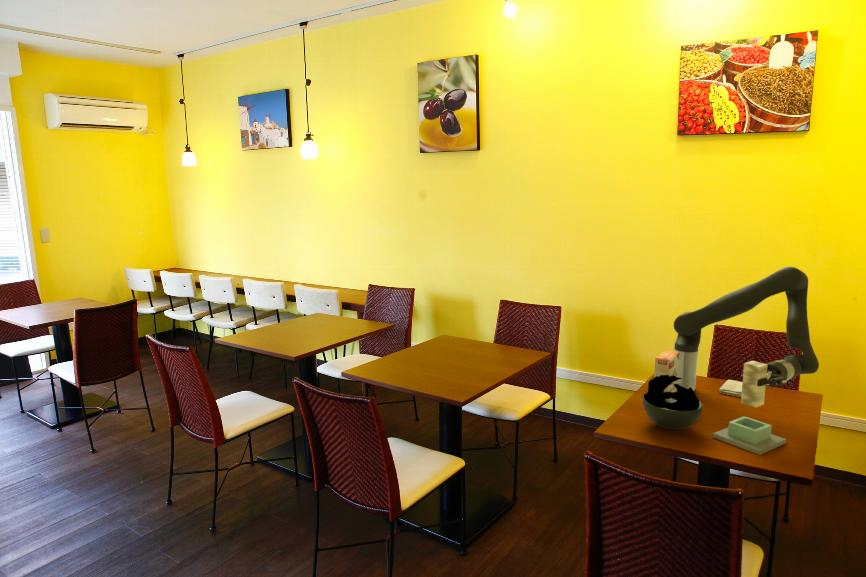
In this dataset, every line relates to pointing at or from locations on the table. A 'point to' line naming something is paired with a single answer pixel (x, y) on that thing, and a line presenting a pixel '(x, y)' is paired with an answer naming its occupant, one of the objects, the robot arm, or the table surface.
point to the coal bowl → (671, 404)
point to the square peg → (753, 384)
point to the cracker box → (667, 366)
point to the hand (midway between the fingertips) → (750, 380)
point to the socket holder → (750, 435)
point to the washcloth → (732, 388)
